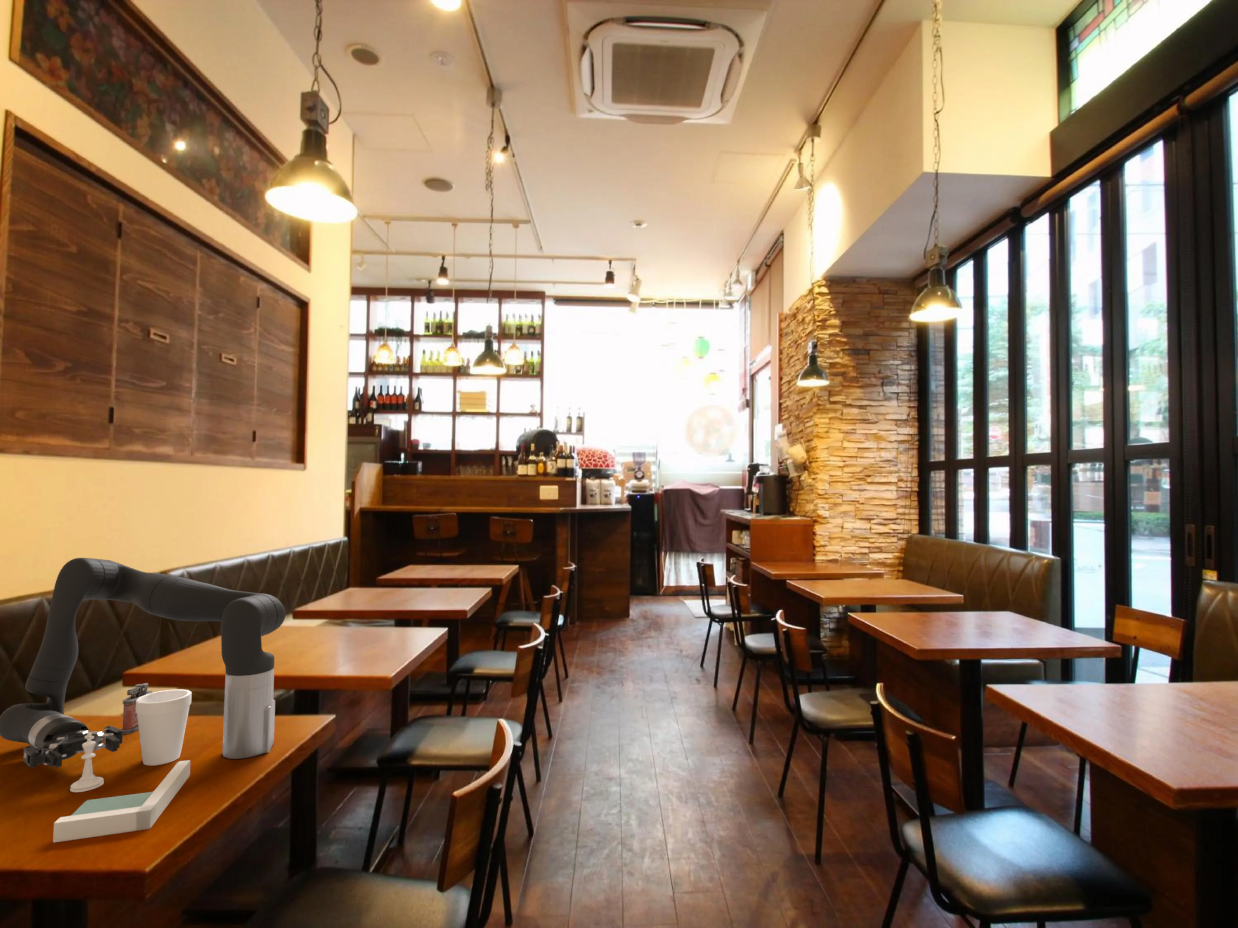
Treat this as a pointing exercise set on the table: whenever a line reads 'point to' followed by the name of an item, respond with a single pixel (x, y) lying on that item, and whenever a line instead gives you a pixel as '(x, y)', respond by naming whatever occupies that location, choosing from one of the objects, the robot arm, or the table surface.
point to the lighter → (132, 708)
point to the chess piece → (87, 769)
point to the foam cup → (162, 724)
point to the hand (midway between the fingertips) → (88, 753)
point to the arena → (121, 810)
